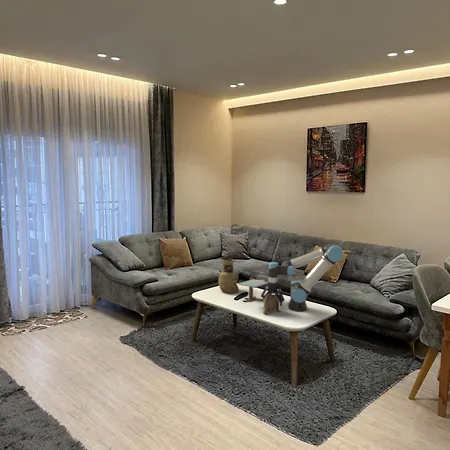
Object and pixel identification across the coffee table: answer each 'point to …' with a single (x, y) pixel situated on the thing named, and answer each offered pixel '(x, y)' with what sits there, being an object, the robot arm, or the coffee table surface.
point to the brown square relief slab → (271, 304)
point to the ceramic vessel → (228, 277)
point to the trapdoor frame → (252, 294)
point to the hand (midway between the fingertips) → (272, 307)
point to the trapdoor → (256, 282)
